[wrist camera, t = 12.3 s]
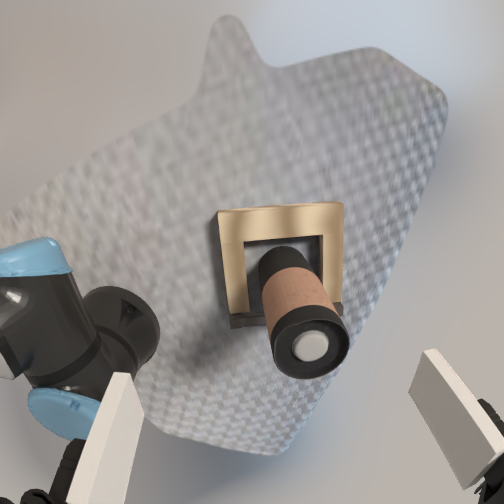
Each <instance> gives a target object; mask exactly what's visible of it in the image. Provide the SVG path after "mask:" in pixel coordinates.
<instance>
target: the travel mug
mask: <svg viewBox="0 0 504 504" xmlns="http://www.w3.org/2000/svg"><path fill="white" fill-rule="evenodd" d="M259 277H260V286H261V295H262V303H263V308H264V313H265V318H266V323H267V329H268V334H269V339H270V344H271V349H272V354H273V358H274V362H275V364H276V366H277V367H278V369H279V370H280V371H281V372H283V373H284V374H285V375H287V376H289V377H292V378H296V379H314V378H318V377H321V376H324V375H326V374H328V373H330V372H331V371H333V370H334V369H335V368H337V367H338V366H339V365H340V364H341V363H342V361H343V360H344V359H345V357H346V355H347V353H348V350H349V344H350V341H349V335H348V332H347V330H346V328H345V326H344V324H343V322H342V321H341V319H340V317H339V315H338V313H337V311H336V309H335V308H334V306H333V304H332V302H331V300H330V298H329V297H328V295H327V293H326V291H325V289H324V287H323V286H322V284H321V282H320V280H319V279H318V277H317V276H316V274H315V273H314V271H313V270H312V268H311V267H310V265H309V264H308V262H307V261H306V259H305V258H304V257H303V255H302V254H301V253H300V252H299V251H298V250H296V249H294V248H292V247H288V246H279V247H276V248H273V249H271V250H270V251H268V252H267V253H266V254H265V255H264V256H263V258H262V259H261V262H260V265H259Z"/></svg>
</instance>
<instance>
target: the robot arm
mask: <svg viewBox="0 0 504 504" xmlns="http://www.w3.org/2000/svg"><path fill="white" fill-rule="evenodd" d="M159 339H160V327H159V323H158V320H157V318H156V316H155V314H154V312H153V311H152V309H151V308H150V307H149V306H148V305H147V304H146V302H144V301H143V300H142V299H141V298H140V297H138V296H137V295H135V294H134V293H132V292H130V291H128V290H125V289H122V288H119V287H113V286H104V287H99V288H96V289H94V290H92V291H90V292H89V293H88V294H86V296H85V297H84V298H82V296H81V294H80V291H79V289H78V287H77V284H76V282H75V279H74V277H73V274H72V268H71V267H69V265H68V263H67V261H66V259H65V256H64V254H63V252H62V249H61V247H60V245H59V244H58V242H57V241H56V240H54V239H52V238H50V237H41V238H36V239H32V240H28V241H25V242H21V243H18V244H15V245H12V246H9V247H6V248H3V249H0V377H2V378H6V379H11V380H14V379H15V378H16V377H18V376H19V375H20V374H21V373H24V375H25V376H26V378H27V379H28V381H29V382H30V384H31V385H32V387H33V389H32V390H31V391H30V392H29V394H28V407H29V410H30V412H31V413H32V415H33V416H34V417H35V418H36V420H37V421H38V422H40V423H41V424H42V425H43V426H44V427H45V428H47V429H48V430H50V431H51V432H53V433H55V434H56V435H58V436H60V437H62V438H65V439H67V440H69V441H71V442H70V444H69V445H68V446H67V447H66V450H65V452H64V455H63V459H62V460H61V462H60V467H59V468H58V470H57V473H56V475H55V478H54V481H53V484H52V486H51V489H50V492H49V494H47V493H46V492H44V491H43V490H40V489H30V490H28V491H27V492H25V493H24V495H23V496H22V497H21V502H20V504H124V502H125V497H126V492H127V487H128V483H129V478H130V473H131V469H132V465H133V460H134V456H135V451H136V447H137V443H138V439H139V435H140V431H141V427H142V423H143V419H144V415H145V414H144V411H143V409H142V406H141V403H140V401H139V398H138V395H137V392H136V389H135V386H134V384H133V382H134V379H135V376H136V373H137V371H138V370H139V369H140V368H141V367H142V365H143V364H145V363H146V362H148V361H149V360H150V359H151V358H152V356H153V355H154V353H155V351H156V349H157V346H158V343H159ZM408 393H409V394H410V396H411V397H412V399H413V401H414V402H415V404H416V406H417V408H418V409H419V411H420V413H421V415H422V416H423V418H424V420H425V421H426V423H427V425H428V426H429V428H430V430H431V432H432V434H433V435H434V437H435V439H436V441H437V442H438V444H439V446H440V448H441V450H442V451H443V453H444V455H445V457H446V459H447V460H448V462H449V464H450V466H451V468H452V470H453V472H454V474H455V476H456V477H457V479H458V481H459V483H460V485H461V487H462V489H463V490H465V489H467V488H468V487H470V486H472V485H474V484H476V483H477V482H478V481H479V480H480V479H481V478H482V477H483V476H484V478H485V481H484V482H483V483H482V484H481V485H480V486H479V487H478V488H477V489H476V490H475V492H474V494H476V493H477V492H478V491H479V490H481V489H482V490H481V492H480V493H479V495H480V498H479V502H478V504H504V422H503V421H502V420H500V417H499V416H498V414H496V412H495V410H494V409H493V408H492V406H491V405H490V404H489V403H487V402H486V401H485V400H483V399H479V400H476V399H475V397H474V396H473V395H472V393H471V392H470V391H469V389H468V388H467V387H466V386H465V384H464V383H463V382H462V380H461V379H460V378H459V377H458V375H457V374H456V373H455V372H454V370H453V369H452V368H451V367H450V365H449V364H448V363H447V362H446V360H445V359H444V358H443V357H442V355H441V354H440V353H439V352H438V351H437V349H436V348H435V349H430V350H426V351H423V353H422V356H421V359H420V362H419V365H418V368H417V371H416V374H415V376H414V379H413V381H412V384H411V387H410V389H409V392H408ZM0 504H14V503H12V502H11V501H10V500H8V499H7V498H4V497H0Z"/></svg>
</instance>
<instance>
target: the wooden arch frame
mask: <svg viewBox="0 0 504 504" xmlns="http://www.w3.org/2000/svg"><path fill="white" fill-rule="evenodd" d="M218 222H219V231H220V240H221V248H222V257H223V265H224V273H225V282H226V290H227V297H228V305H229V313H230V325H231V329H234V328H242V327H246V326H257V325H267V323H266V318H265V313H264V312H257V313H246V312H250V309H249V298H248V287H247V277H246V266H245V255H244V244H243V242H244V241H254V240H265V239H277V238H288V237H299V236H311V235H319V280H320V282H321V284H322V286H323V287H324V289H325V291H326V293H327V295H328V297H329V298H330V300H331V302H332V304H333V306H334V308H335V309H336V311H337V313H338V315H339V316H343V308H344V307H343V305H342V304H341V294H342V273H343V238H344V205H343V204H342V203H340V202H339V201H332V202H316V203H301V204H287V205H275V206H262V207H251V208H240V209H229V210H219V211H218ZM241 313H246V314H241Z"/></svg>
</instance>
